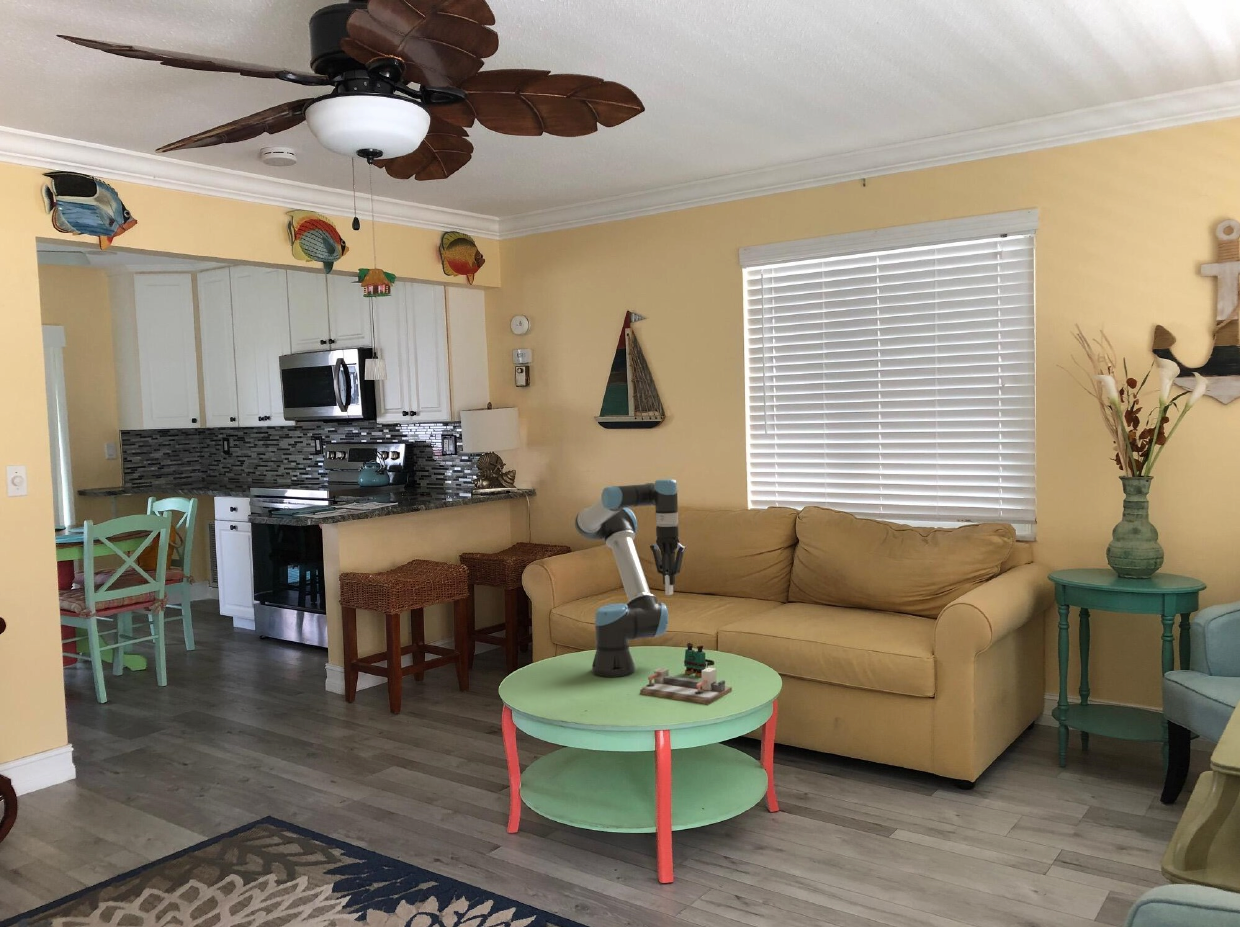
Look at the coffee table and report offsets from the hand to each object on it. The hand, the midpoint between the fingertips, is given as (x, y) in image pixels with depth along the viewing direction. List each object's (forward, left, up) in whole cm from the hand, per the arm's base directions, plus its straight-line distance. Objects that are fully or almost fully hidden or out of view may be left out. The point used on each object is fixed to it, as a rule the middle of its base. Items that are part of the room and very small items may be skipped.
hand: (669, 594), depth 318 cm
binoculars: (+4, +12, -30) cm, 32 cm away
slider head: (+18, -10, -28) cm, 35 cm away
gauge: (+11, -10, -29) cm, 33 cm away
